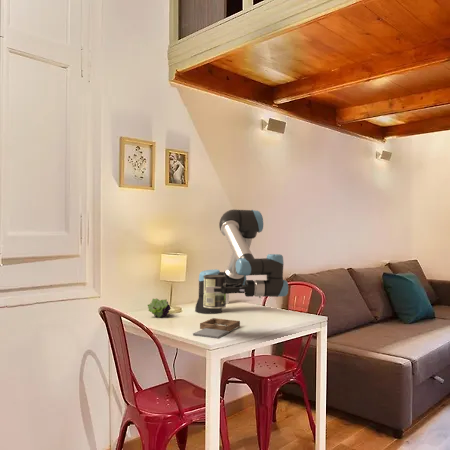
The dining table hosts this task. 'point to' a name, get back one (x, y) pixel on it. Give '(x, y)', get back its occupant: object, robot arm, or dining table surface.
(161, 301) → the fruit
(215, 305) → the coffee can
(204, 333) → the mat
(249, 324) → the dining table surface
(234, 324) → the square wooden frame
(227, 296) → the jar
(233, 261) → the robot arm
